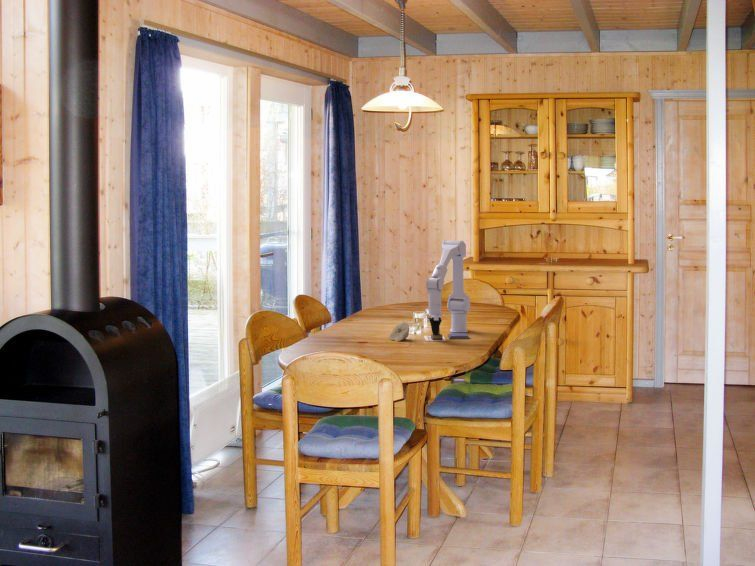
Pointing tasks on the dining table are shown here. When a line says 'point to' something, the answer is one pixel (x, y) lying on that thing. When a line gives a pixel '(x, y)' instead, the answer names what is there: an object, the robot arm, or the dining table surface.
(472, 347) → the dining table surface
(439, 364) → the dining table surface
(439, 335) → the stamp
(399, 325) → the stone
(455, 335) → the ink pad
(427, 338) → the sheet
